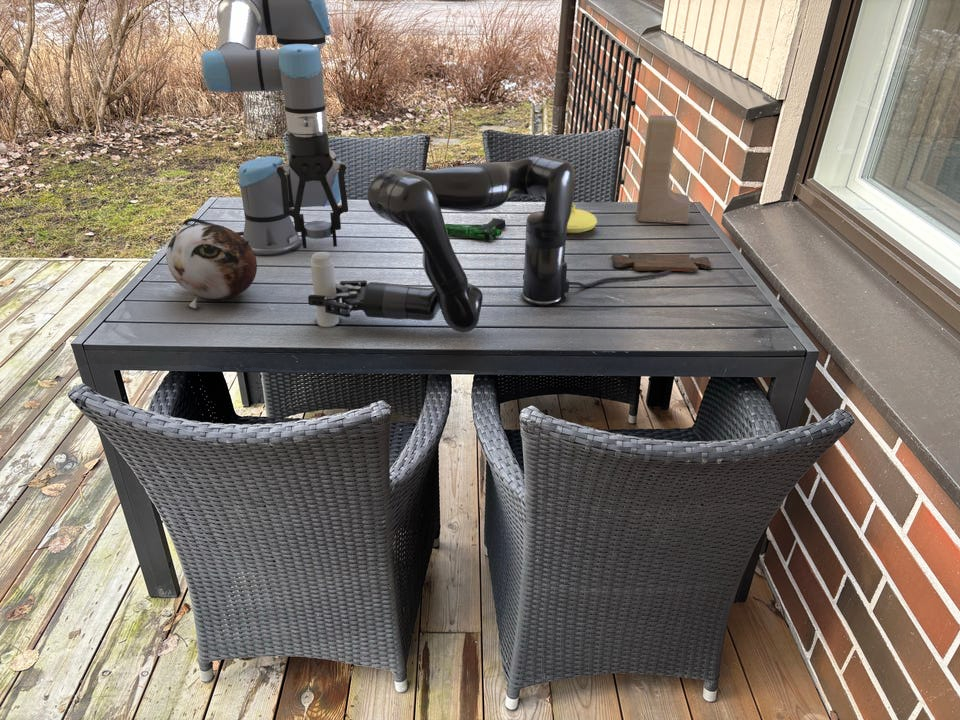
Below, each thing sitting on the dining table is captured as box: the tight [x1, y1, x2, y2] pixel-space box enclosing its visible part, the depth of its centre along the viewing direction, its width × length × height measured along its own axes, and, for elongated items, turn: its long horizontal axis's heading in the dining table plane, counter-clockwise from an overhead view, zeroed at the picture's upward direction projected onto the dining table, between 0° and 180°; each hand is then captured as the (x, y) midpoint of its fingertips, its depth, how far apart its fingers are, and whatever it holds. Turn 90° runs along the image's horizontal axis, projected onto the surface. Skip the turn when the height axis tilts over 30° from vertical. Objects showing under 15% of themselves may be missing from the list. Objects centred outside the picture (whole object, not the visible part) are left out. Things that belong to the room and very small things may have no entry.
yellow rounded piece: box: [566, 204, 598, 234], centre depth 209 cm, size 16×16×7 cm
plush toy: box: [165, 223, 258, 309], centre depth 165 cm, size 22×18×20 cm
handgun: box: [445, 217, 506, 242], centre depth 207 cm, size 16×3×15 cm
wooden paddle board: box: [611, 252, 711, 273], centre depth 188 cm, size 26×2×10 cm
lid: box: [304, 220, 332, 240], centre depth 148 cm, size 6×6×2 cm
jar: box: [310, 251, 340, 328], centre depth 155 cm, size 5×5×16 cm
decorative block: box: [635, 114, 692, 225], centre depth 212 cm, size 8×15×30 cm, turn 82°
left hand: (319, 244), depth 150 cm, fingers closed on lid, 5 cm apart
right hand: (313, 294), depth 156 cm, fingers closed on jar, 4 cm apart
